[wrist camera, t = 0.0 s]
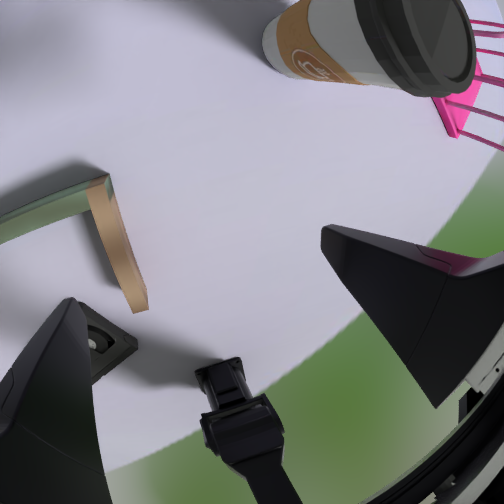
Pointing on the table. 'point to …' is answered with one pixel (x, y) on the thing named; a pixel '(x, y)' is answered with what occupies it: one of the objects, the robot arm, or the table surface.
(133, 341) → the vhs tape
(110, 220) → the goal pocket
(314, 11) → the coffee cup
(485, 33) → the file sorter
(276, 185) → the table surface
